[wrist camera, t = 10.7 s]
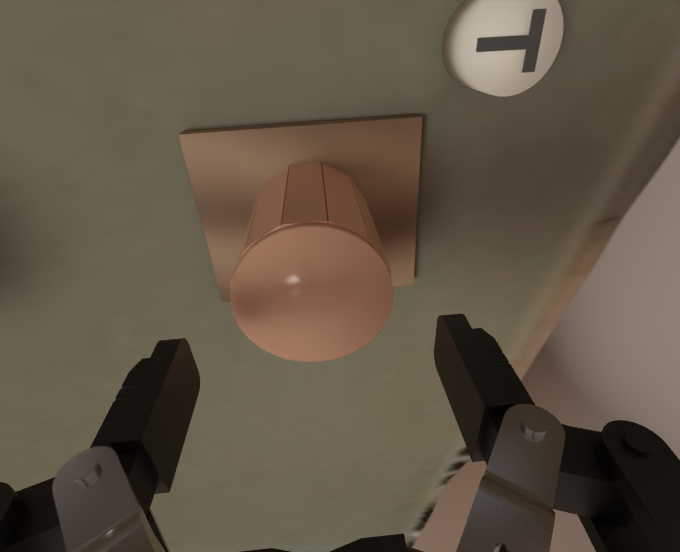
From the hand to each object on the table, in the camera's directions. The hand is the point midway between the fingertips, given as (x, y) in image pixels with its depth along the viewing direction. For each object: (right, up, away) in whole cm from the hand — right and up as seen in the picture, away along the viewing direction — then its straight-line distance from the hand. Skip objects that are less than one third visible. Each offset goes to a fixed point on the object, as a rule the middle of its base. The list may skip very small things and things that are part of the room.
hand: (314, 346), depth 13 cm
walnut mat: (-1, +6, +10) cm, 11 cm away
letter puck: (+8, +13, +6) cm, 17 cm away
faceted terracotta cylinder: (-1, +5, +9) cm, 11 cm away
